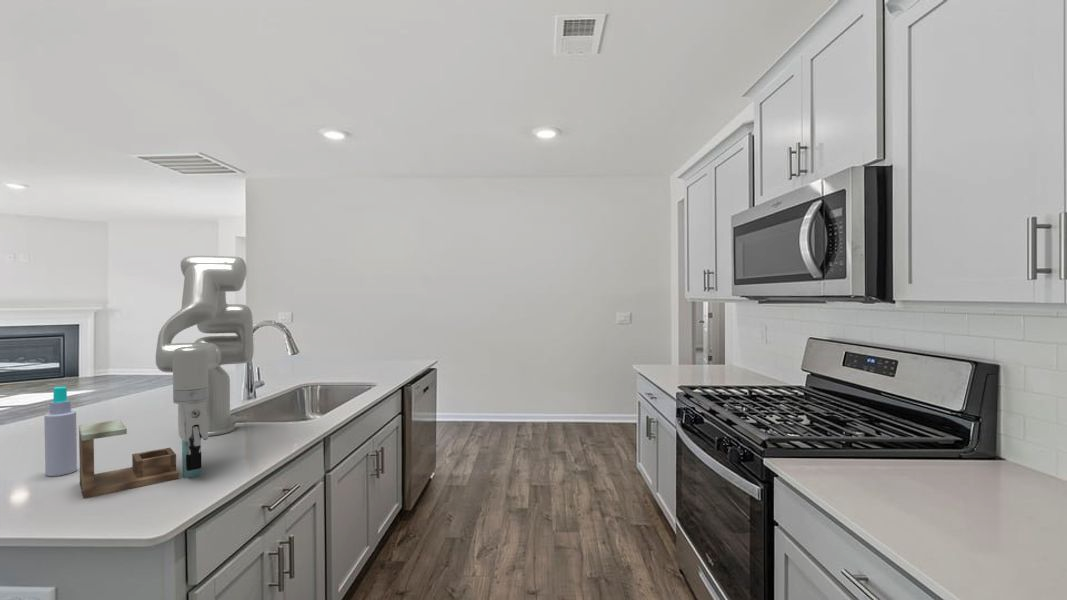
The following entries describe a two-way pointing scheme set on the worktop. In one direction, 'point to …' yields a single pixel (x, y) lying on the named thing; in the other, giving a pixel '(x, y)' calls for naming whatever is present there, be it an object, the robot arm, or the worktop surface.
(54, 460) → the spray bottle
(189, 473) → the peg
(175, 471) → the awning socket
